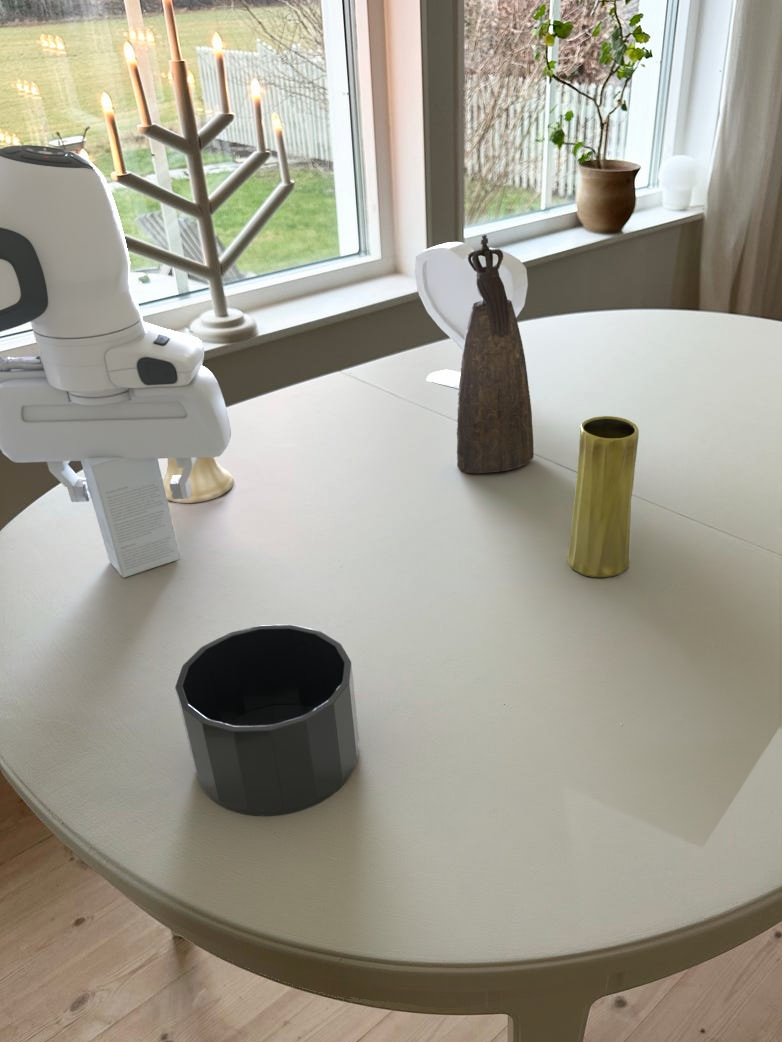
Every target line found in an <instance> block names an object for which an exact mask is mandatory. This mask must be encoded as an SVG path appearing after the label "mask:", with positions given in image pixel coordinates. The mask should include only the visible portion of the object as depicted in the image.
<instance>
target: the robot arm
mask: <svg viewBox="0 0 782 1042" xmlns="http://www.w3.org/2000/svg"><path fill="white" fill-rule="evenodd" d="M120 219H121V218H120V216H119V213H118V209H117V206H116V203H115V200H114V197H113V195H112V192H111V189H110V187H109V184H108V183H107V180H106V178H105V177H104V175H103V173H102V172H101V170H100V169H98V168H97V166H96V165H94V164H93V163H92V162H91V161H90V160H89V159H87V158H86V157H83V156H82V155H81V154H78V153H77V152H73V151H69V150H66V149H63V148H57V147H51V146H45V145H33V144H32V145H31V144H22V145H9V146H8V145H7V146H4V147H2V148H0V333H1V332H5V331H9V330H11V329H14V328H17V327H20V326H23V325H25V324H28V323H30V324H31V328H32V332H33V336H34V338H35V339H34V340H35V342H36V346H37V349H38V352H39V355H35V356H33V355H31V356H29V355H27V356H21V357H10V356H0V451H1V453H2V454H3V455H4V456H5V457H7V459H9V460H10V461H12V462H13V463H46V465H47V468H48V471H49V473H50V474H52V475H53V476H54V478H56V480H58V481H59V482H60V484H62V485H63V486H64V487H65V488H67V491H68V496H69V498H70V501H71V503H87V502H90V499H91V495H90V492H89V488H88V485H87V481H86V478H85V477H79V476H78V474H77V473H76V472H75V470H73V468H72V467H71V466H70V465H69V464H70V462H81V461H84V460H85V459H86V458H98V457H125V458H126V459H158V460H159V459H168V458H176V462H177V467H179V468H182V467H184V469H183V472H182V474H181V475H177V476H173V477H172V481H171V482H170V484H169V485H170V490H171V491H172V492H173V493H172V498H173V499H189V498H190V496H191V484H190V479H189V476H190V473H191V471H192V469H193V466H194V464H195V461H196V459H197V457H214V458H218V457H221V456H222V455H223V453H224V452H225V451H226V449H227V448H228V447H229V444H230V442H231V438H232V428H231V422H230V416H229V413H228V410H227V405H226V402H225V399H224V396H223V393H222V390H221V387H220V384H219V382H218V380H217V378H216V377H215V375H214V374H213V372H211V371H210V370H209V369H208V368H207V367H205V366H203V363H204V360H205V348H204V344H203V342H202V340H200V339H199V338H198V337H195V336H192V335H189V334H186V333H183V332H179V331H174V330H171V329H167V328H164V327H161V326H158V325H154V324H151V323H148V322H145V321H144V320H143V319H144V318H143V316H142V311H141V308H140V306H139V304H138V302H137V300H136V298H135V296H134V293H133V292H132V291H133V290H132V287H131V282H130V273H131V261H130V257H129V256H130V255H129V252H128V248H127V242H126V239H125V235H124V231H123V227H122V223H121V220H120Z"/></svg>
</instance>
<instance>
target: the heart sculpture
mask: <svg viewBox="0 0 782 1042" xmlns="http://www.w3.org/2000/svg"><path fill="white" fill-rule="evenodd" d="M489 249H492V250H493V249H494V250H495V249H497V248H496V247H495V248H494V247H489ZM500 250H501V251H502V252H503V260H502V263H501V265H500V268H499V269H498V271H499V276H500V278H501V280H502V282H503V285H504V288H505V292H506V296H507V300H511V301H512V305H513V309H514V312H515V316H516V319H517V318H518V316H519V315H520V313H521V311H522V310H523V308H524V307H525V306H526V305H525V304H526V299H527V293H528V286H529V281H528V271H527V268H526V266H525V265H524V263H523V262H522V261H521V260H520V259H519V258H518V257H515V256H514V255H512V254H511V253H510V252H507V251H505V250H502V249H500ZM473 251H475V249H474V248H473V247H472V246H470V245H469V244H468V243H465V242H461V241H452V242H451V241H450V242H449V241H448V242H444V243H442V244H437V245H435V246H432V247H429V248H427V249H424V250H421V251H420V252H419V253H418V254H417V255H416V256H415V262H414V263H415V265H414V278H415V284H416V289H417V294H418V296H419V298H420V300H421V303H422V304H423V307H424V309H425V311H426V312H427V314H428V315H429V317H431V319H432V321H434V322H435V324H436V325H437V326H438V327H439V329H440V330H441V331H442V332H443V333H444V334H446V336H448V337H449V338H450V339H451V340H452V342H454V343H455V345H457V346H458V347H459V348H460V349H461V357H462V356H463V350H464V344H465V338H466V333H467V327H468V323H469V318H470V314H471V310H472V306H473V304H474V303H476V302H479V301H482V300H483V298H482V297H481V296H480V294H479V293H478V290H477V286H476V279H477V277H476V274H477V272H476V271H474V269H473V268H472V267H471V266H470V264H469V262H468V254H470V253H471V252H473ZM478 257H479V261H480V263H481V265H482V267H486V260H485V257H484V256H478ZM471 261H472V257H471ZM472 263H473V262H472ZM497 263H498V256H497V255H496V254H493V266H495V265H496V264H497ZM460 374H461V372H458V371H454V370H451V369H443V370H439V371H434V372H432V373H430V374H429V375H428V376H427V378H426V381H427V382H431V383H434V384H439V385H442V386H446V387H451V388H455V389H458V390H459V383H460Z"/></svg>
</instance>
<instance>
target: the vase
mask: <svg viewBox="0 0 782 1042" xmlns="http://www.w3.org/2000/svg"><path fill="white" fill-rule="evenodd" d="M639 432H640V431H639V428H638V426H637V424H635V423H634V422H633V421H631V420H629V419H626V418H623V417H619V416H614V415H613V416H611V415H604V416H603V415H601V416H595V417H591V418H588V419H585V420H584V421H583V422H582V423H581V425H580V431H579V449H578V460H577V461H578V462H577V471H576V482H575V491H574V492H575V494H574V499H573V500H574V501H573V510H572V518H571V527H570V535H569V547H568V548H569V549H568V554H567V557H566V561H567V564H568V565H569V567H570V568H571V569H572V570H574V571H575V572H577V573H578V574H581V575H584V576H586V577H591V578H598V579H599V578H602V579H603V578H611V577H616V576H618V575H620V574H622V573H624V572H625V571H626V570H627V569H628V568H629V565H630V546H631V545H630V543H631V541H630V540H631V522H632V521H631V516H632V498H633V492H634V491H633V489H634V481H635V472H636V471H635V470H636V461H637V453H638V444H639V437H640V435H639V434H640V433H639Z"/></svg>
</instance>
